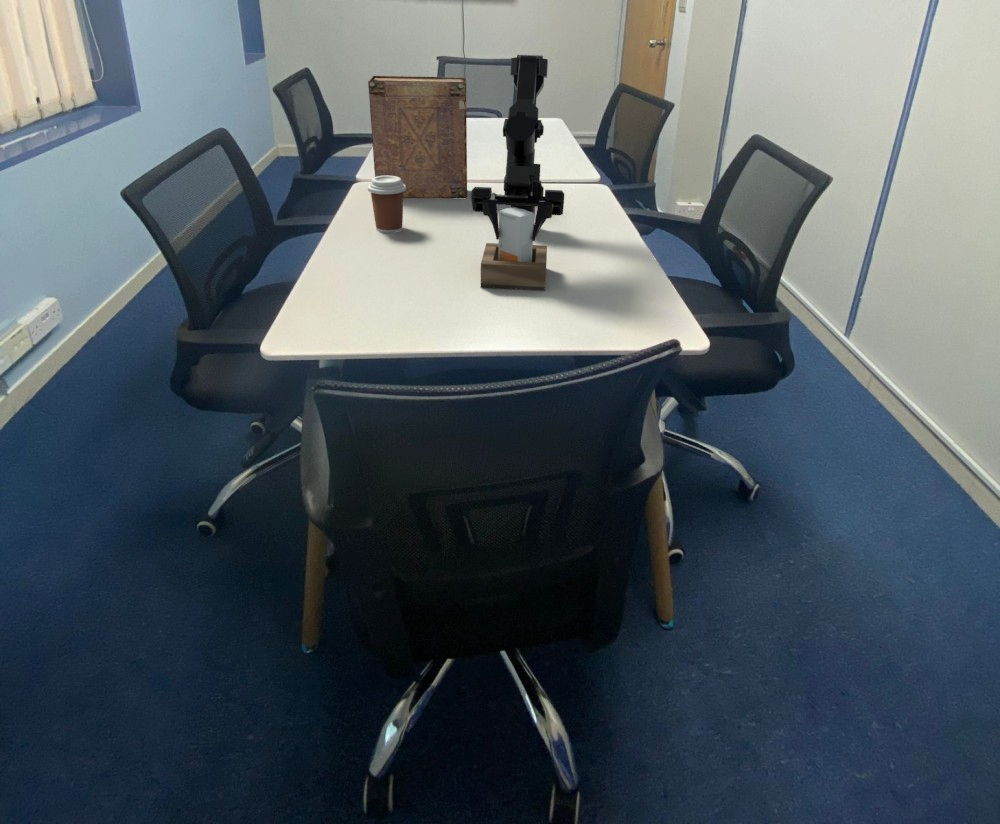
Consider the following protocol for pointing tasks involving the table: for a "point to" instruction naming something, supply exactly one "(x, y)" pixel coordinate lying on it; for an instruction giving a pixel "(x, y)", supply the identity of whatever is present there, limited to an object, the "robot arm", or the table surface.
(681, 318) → the table surface
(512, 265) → the socket block
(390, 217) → the coffee cup
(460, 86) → the book
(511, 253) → the skincare box
